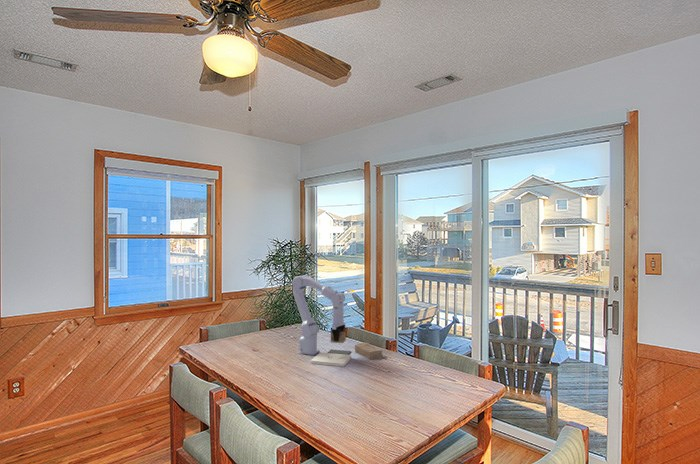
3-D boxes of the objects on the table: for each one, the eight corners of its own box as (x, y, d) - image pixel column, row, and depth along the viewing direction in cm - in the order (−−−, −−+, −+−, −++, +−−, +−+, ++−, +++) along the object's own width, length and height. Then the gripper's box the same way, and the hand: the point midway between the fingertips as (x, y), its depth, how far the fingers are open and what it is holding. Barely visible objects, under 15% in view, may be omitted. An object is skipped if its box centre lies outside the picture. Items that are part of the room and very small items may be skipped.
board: (310, 363, 194) (310, 360, 194) (320, 355, 207) (320, 352, 207) (343, 366, 189) (343, 363, 189) (351, 358, 202) (351, 355, 202)
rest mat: (326, 354, 208) (326, 353, 208) (330, 350, 216) (330, 349, 216) (347, 356, 205) (347, 355, 205) (350, 352, 212) (350, 351, 212)
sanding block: (330, 342, 203) (330, 333, 203) (333, 339, 208) (333, 330, 208) (342, 343, 201) (342, 334, 201) (345, 340, 206) (345, 331, 206)
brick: (383, 357, 204) (383, 349, 204) (370, 360, 199) (370, 351, 199) (366, 350, 218) (366, 341, 218) (354, 352, 213) (354, 344, 213)
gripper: (341, 318, 196) (340, 343, 196) (349, 312, 210) (348, 336, 210) (328, 317, 199) (328, 342, 198) (337, 311, 212) (337, 335, 212)
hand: (338, 339), depth 204 cm, fingers closed on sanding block, 5 cm apart
